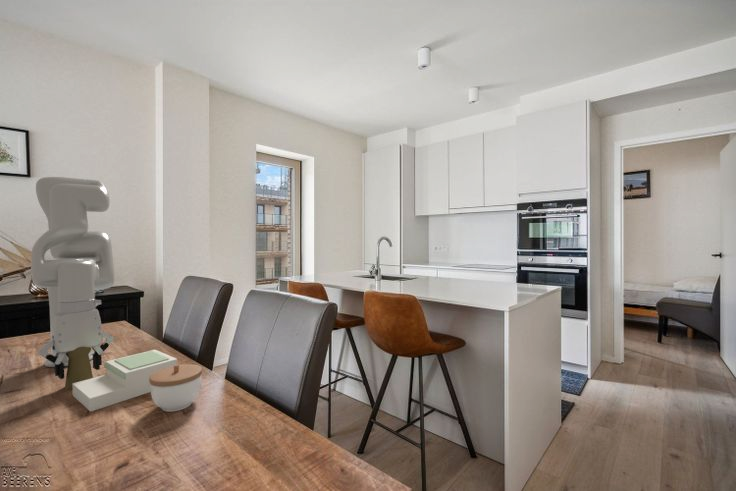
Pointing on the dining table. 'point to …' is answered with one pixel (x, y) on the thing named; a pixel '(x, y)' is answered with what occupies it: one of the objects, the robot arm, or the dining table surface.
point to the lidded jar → (175, 386)
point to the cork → (78, 366)
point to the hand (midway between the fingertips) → (79, 372)
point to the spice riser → (121, 379)
